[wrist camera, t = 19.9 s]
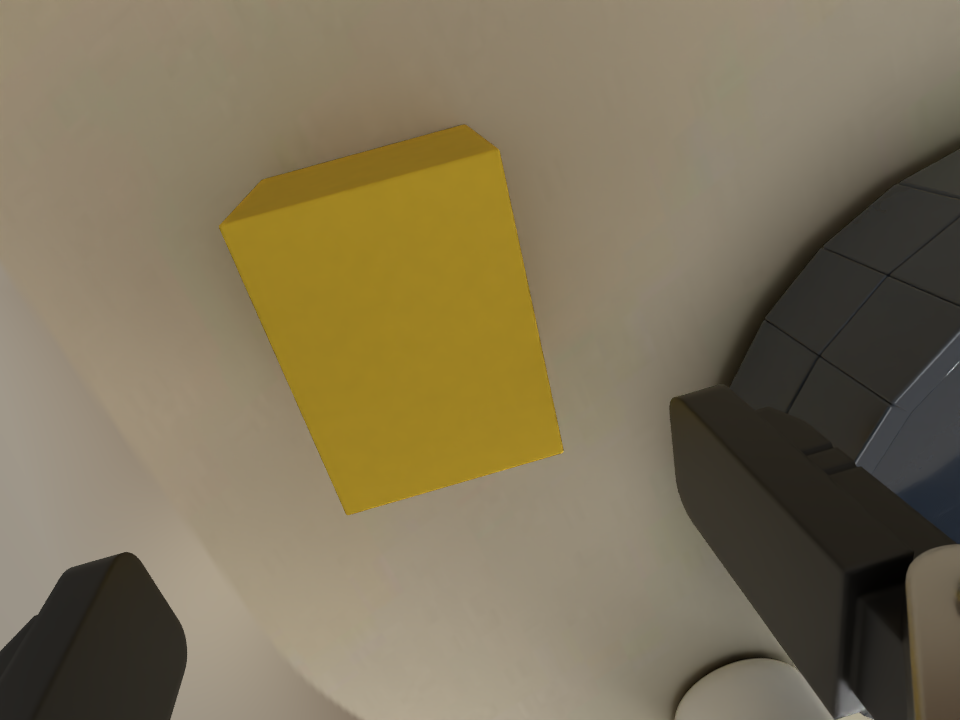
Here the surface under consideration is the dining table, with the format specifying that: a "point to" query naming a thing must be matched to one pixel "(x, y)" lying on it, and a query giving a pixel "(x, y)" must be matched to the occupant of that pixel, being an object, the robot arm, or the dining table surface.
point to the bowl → (878, 344)
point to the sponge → (400, 314)
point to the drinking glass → (752, 694)
